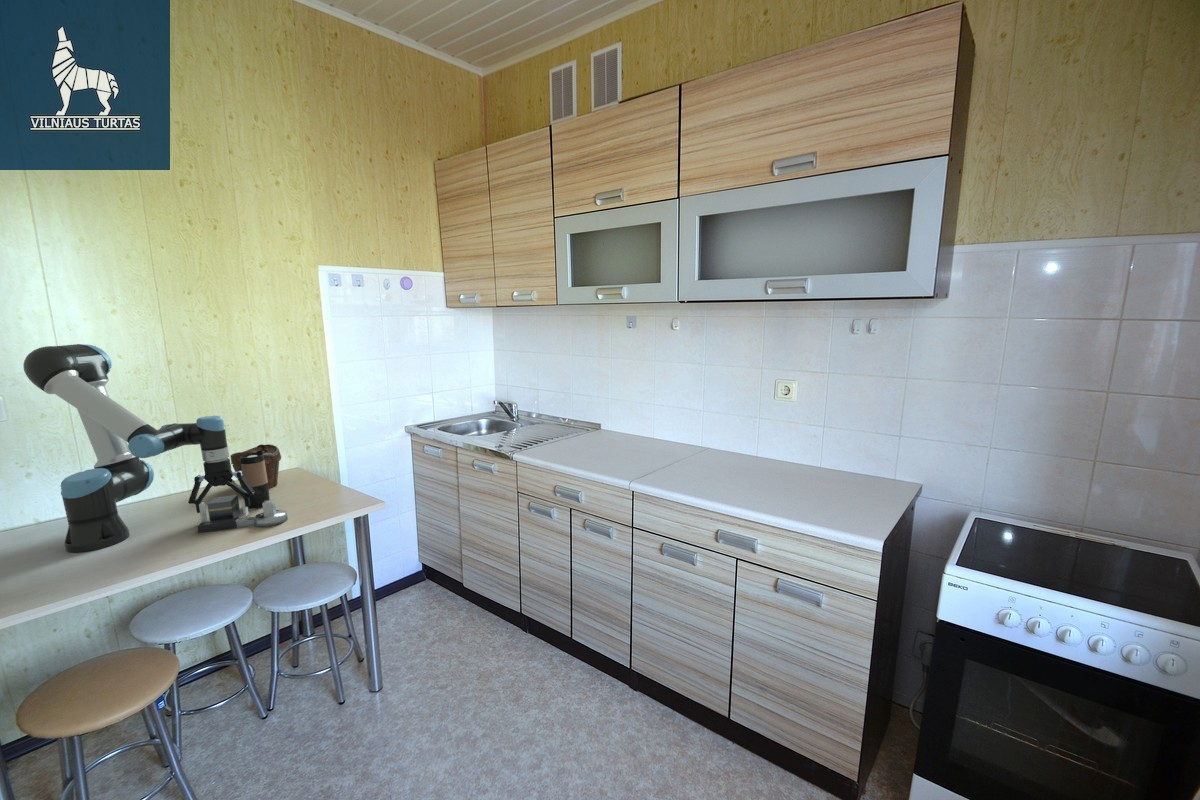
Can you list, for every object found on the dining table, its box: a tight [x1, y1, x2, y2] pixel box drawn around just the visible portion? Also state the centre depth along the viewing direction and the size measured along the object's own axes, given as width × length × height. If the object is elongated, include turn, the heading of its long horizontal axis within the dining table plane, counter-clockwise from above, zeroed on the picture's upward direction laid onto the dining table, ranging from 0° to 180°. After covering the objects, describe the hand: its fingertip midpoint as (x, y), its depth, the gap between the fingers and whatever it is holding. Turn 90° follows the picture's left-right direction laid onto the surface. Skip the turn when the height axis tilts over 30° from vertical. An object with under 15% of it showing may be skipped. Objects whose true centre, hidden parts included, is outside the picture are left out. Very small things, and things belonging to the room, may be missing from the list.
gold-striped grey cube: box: [206, 494, 241, 521], centre depth 183 cm, size 7×7×8 cm
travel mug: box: [240, 453, 271, 510], centre depth 196 cm, size 8×8×20 cm
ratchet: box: [197, 499, 289, 534], centre depth 178 cm, size 26×10×8 cm, turn 109°
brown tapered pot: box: [229, 443, 282, 490], centre depth 219 cm, size 18×20×18 cm
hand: (225, 518), depth 184 cm, fingers open, 12 cm apart
